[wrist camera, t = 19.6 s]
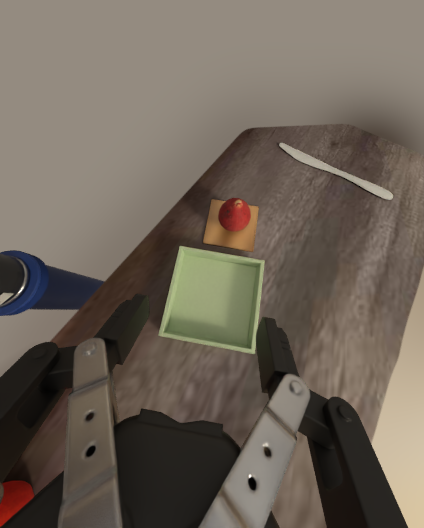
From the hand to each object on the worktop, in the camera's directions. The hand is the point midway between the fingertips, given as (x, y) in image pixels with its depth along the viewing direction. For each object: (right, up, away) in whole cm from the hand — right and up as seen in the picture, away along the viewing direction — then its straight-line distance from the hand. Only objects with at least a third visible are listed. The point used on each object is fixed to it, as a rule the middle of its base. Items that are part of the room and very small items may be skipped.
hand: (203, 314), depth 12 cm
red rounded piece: (+5, +11, +24) cm, 27 cm away
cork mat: (+5, +11, +24) cm, 27 cm away
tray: (+1, -3, +20) cm, 20 cm away
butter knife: (+28, +24, +28) cm, 46 cm away
